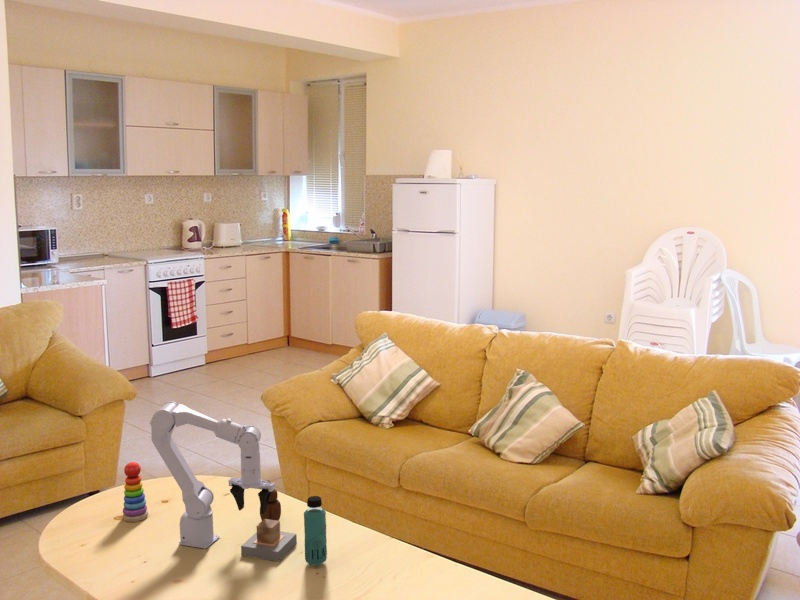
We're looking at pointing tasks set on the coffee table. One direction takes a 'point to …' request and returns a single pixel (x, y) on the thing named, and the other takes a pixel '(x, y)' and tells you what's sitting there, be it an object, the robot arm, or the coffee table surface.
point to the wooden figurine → (272, 508)
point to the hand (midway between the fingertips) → (252, 510)
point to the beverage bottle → (315, 532)
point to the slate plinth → (269, 547)
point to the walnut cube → (268, 531)
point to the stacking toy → (134, 494)
